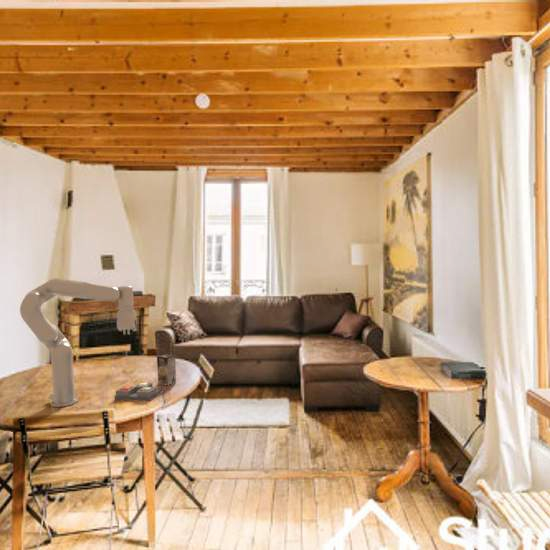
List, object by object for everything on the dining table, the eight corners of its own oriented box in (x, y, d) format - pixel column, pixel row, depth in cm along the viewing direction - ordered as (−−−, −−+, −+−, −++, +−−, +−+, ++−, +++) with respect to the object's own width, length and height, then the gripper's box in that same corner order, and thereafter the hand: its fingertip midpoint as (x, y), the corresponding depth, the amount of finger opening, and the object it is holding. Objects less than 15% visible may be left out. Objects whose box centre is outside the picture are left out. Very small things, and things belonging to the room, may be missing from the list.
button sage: (139, 393, 203) (139, 390, 203) (144, 390, 208) (144, 386, 208) (148, 394, 202) (148, 390, 202) (153, 391, 207) (152, 387, 207)
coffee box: (157, 383, 229) (156, 356, 228) (166, 380, 234) (164, 353, 233) (168, 386, 223) (166, 357, 223) (177, 382, 229) (175, 355, 228)
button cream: (136, 388, 211) (136, 385, 211) (141, 386, 216) (141, 382, 216) (145, 389, 210) (144, 385, 210) (149, 386, 215) (149, 382, 215)
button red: (119, 393, 206) (118, 389, 206) (124, 390, 210) (124, 386, 210) (127, 393, 205) (127, 389, 205) (132, 390, 209) (132, 386, 209)
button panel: (114, 399, 205) (114, 391, 204) (131, 389, 219) (130, 381, 219) (149, 401, 200) (149, 392, 200) (164, 391, 215) (163, 382, 215)
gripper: (110, 309, 215) (112, 343, 216) (134, 309, 212) (136, 343, 213) (118, 307, 222) (120, 340, 223) (142, 307, 219) (144, 340, 220)
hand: (128, 341), depth 218 cm, fingers closed
